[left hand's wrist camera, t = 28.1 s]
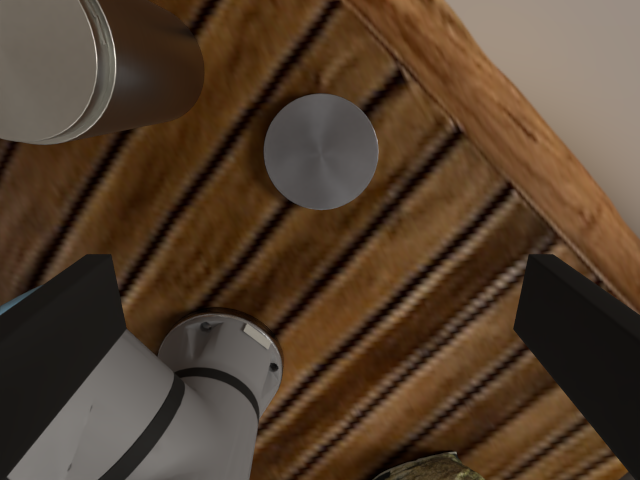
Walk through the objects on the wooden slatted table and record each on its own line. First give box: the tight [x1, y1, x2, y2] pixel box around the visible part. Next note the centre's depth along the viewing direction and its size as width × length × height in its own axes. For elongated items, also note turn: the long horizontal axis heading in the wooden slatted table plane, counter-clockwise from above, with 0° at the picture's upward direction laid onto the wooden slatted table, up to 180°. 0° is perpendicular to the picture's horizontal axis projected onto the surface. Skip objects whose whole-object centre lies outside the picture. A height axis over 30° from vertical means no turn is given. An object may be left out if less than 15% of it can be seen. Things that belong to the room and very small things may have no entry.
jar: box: [0, 0, 204, 145], centre depth 29 cm, size 10×10×19 cm
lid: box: [264, 93, 378, 210], centre depth 40 cm, size 11×11×2 cm
